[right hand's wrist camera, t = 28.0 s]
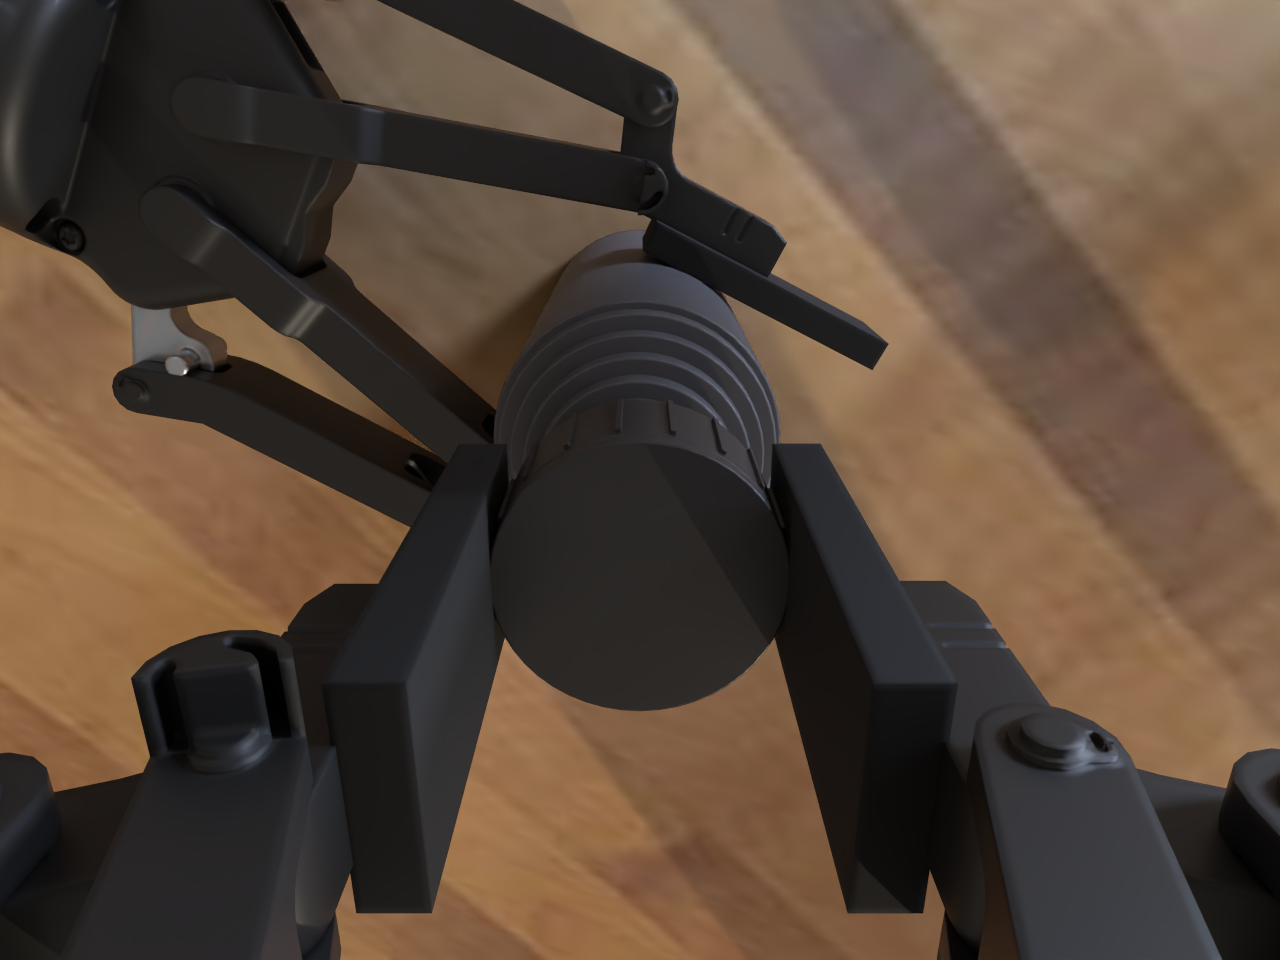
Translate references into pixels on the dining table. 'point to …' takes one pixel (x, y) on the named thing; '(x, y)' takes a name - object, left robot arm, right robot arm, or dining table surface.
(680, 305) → the bottle
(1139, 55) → the dining table surface
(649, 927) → the dining table surface
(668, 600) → the cap
